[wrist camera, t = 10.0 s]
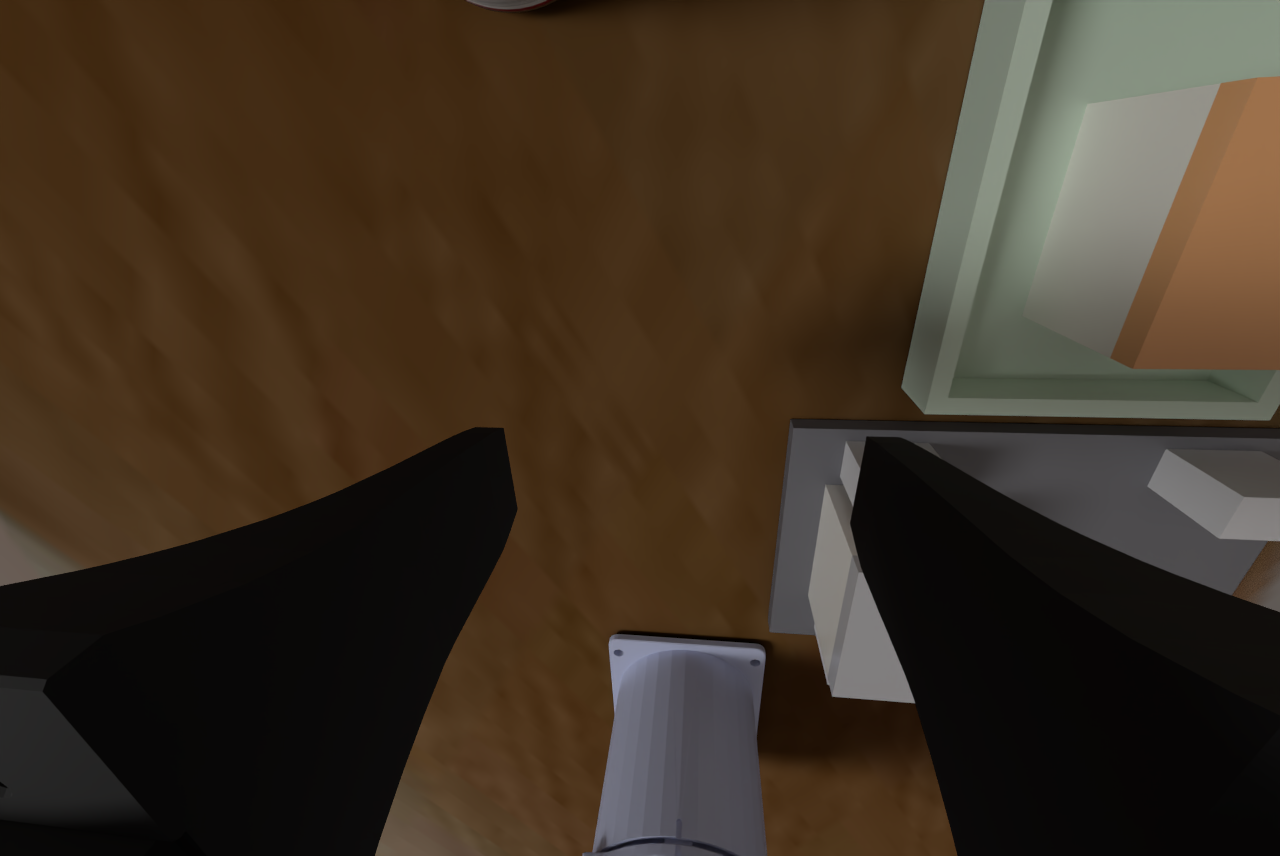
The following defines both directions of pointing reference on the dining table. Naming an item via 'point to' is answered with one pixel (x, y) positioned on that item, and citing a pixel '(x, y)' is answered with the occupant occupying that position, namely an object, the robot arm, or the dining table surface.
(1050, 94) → the tray
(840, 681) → the block
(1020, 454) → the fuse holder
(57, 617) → the robot arm
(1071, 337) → the block
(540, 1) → the soda can
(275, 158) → the dining table surface
